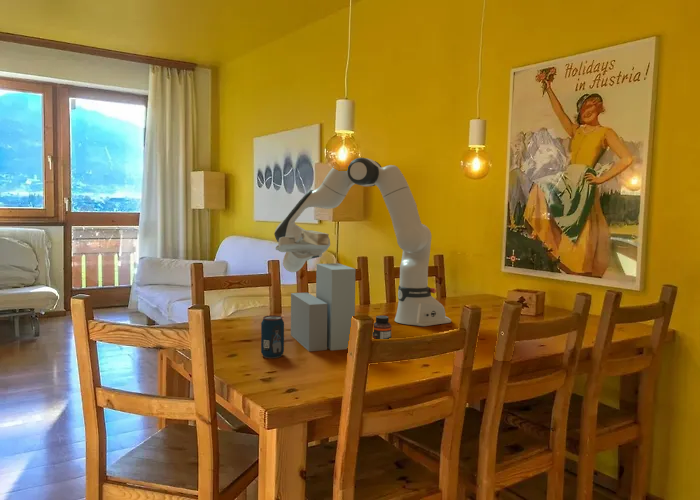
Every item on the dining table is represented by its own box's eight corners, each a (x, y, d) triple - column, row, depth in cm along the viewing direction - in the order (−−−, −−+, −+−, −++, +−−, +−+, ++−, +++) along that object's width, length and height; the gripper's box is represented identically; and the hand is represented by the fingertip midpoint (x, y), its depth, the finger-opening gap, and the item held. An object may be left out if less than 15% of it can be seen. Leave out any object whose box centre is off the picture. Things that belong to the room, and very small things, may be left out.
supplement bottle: (369, 349, 179) (369, 315, 178) (385, 348, 181) (386, 314, 180) (377, 354, 174) (377, 319, 172) (394, 353, 176) (394, 317, 175)
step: (307, 333, 199) (307, 292, 197) (326, 349, 178) (327, 303, 177) (290, 335, 196) (291, 293, 195) (309, 351, 176) (309, 304, 175)
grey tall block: (337, 336, 195) (338, 263, 193) (354, 348, 180) (355, 268, 178) (315, 338, 192) (316, 263, 190) (330, 350, 178) (332, 269, 175)
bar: (311, 240, 214) (311, 230, 214) (328, 245, 196) (328, 233, 195) (301, 240, 213) (301, 230, 212) (317, 245, 194) (317, 233, 194)
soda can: (269, 351, 175) (269, 314, 174) (288, 354, 172) (288, 316, 171) (256, 356, 169) (256, 318, 168) (275, 360, 166) (275, 320, 165)
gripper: (273, 243, 219) (281, 227, 208) (322, 242, 227) (332, 227, 215) (275, 257, 217) (283, 242, 205) (325, 256, 224) (335, 242, 213)
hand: (309, 234), depth 210 cm, fingers closed on bar, 4 cm apart
